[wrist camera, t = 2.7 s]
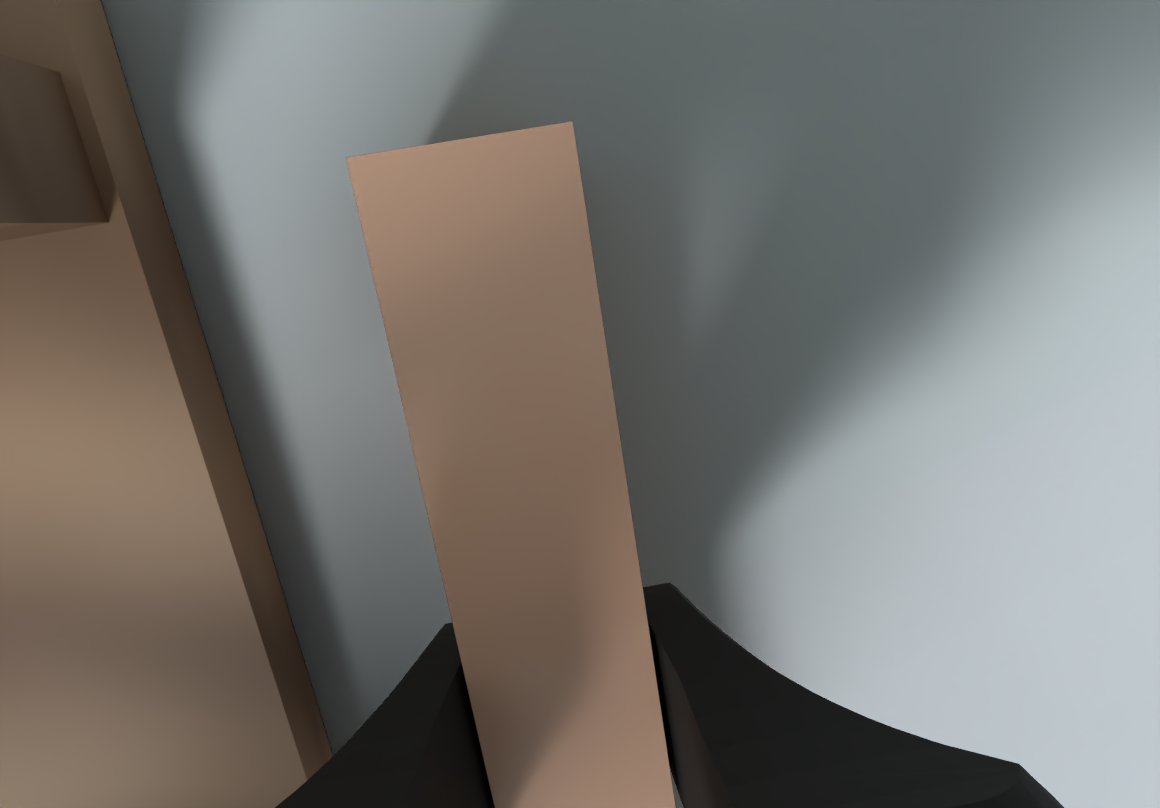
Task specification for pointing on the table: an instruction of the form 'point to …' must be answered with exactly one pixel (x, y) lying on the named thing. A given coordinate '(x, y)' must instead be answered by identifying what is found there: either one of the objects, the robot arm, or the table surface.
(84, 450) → the strip rack
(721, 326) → the table surface
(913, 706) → the table surface
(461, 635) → the clay strip
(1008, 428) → the table surface
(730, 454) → the table surface
